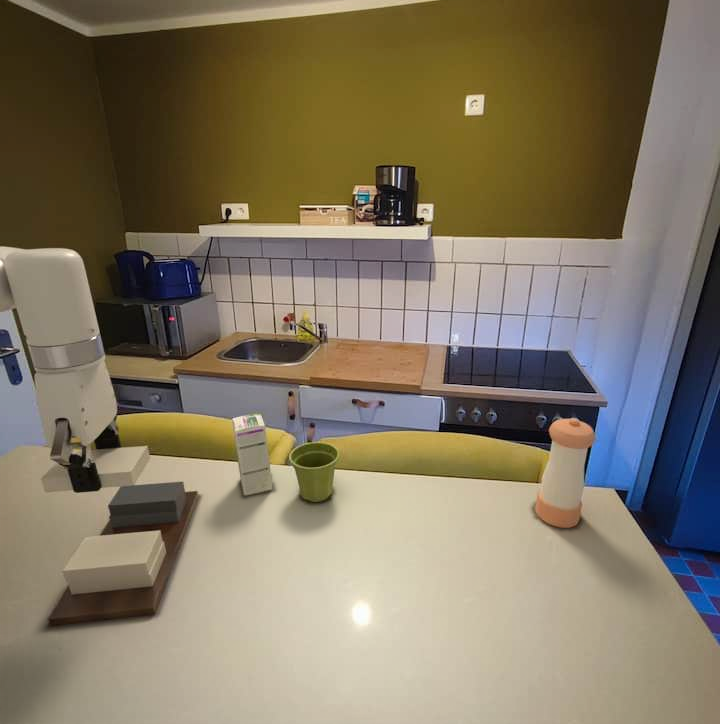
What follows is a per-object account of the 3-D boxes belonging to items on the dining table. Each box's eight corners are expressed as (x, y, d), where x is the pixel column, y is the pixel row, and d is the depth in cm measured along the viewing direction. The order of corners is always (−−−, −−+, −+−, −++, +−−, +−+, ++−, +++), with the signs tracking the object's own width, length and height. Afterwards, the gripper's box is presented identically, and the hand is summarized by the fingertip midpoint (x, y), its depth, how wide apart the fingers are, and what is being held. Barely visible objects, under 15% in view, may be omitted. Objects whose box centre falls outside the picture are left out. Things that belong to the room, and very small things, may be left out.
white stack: (70, 594, 60) (62, 571, 59) (91, 559, 67) (85, 536, 65) (152, 586, 62) (147, 562, 60) (166, 552, 68) (161, 530, 66)
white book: (45, 492, 56) (40, 478, 55) (70, 464, 62) (66, 451, 61) (134, 485, 57) (130, 471, 56) (150, 458, 63) (147, 445, 62)
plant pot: (287, 484, 86) (284, 446, 83) (332, 474, 89) (330, 438, 86) (298, 513, 78) (295, 472, 75) (346, 501, 81) (345, 462, 78)
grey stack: (111, 527, 73) (105, 505, 71) (124, 507, 78) (118, 486, 76) (179, 522, 74) (174, 500, 73) (187, 502, 79) (183, 481, 78)
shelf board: (49, 625, 57) (47, 619, 57) (125, 501, 81) (124, 496, 81) (155, 614, 59) (153, 607, 58) (198, 495, 83) (197, 490, 83)
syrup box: (273, 489, 85) (267, 424, 79) (242, 497, 83) (234, 430, 77) (268, 474, 90) (261, 411, 84) (239, 480, 88) (231, 417, 82)
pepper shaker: (584, 530, 73) (606, 431, 67) (540, 525, 74) (557, 428, 68) (571, 502, 80) (590, 410, 73) (531, 499, 81) (545, 408, 74)
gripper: (71, 334, 61) (99, 444, 67) (-13, 379, 45) (35, 519, 51) (127, 331, 62) (149, 440, 68) (64, 375, 45) (102, 513, 52)
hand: (100, 473), depth 59 cm, fingers closed on white book, 6 cm apart
